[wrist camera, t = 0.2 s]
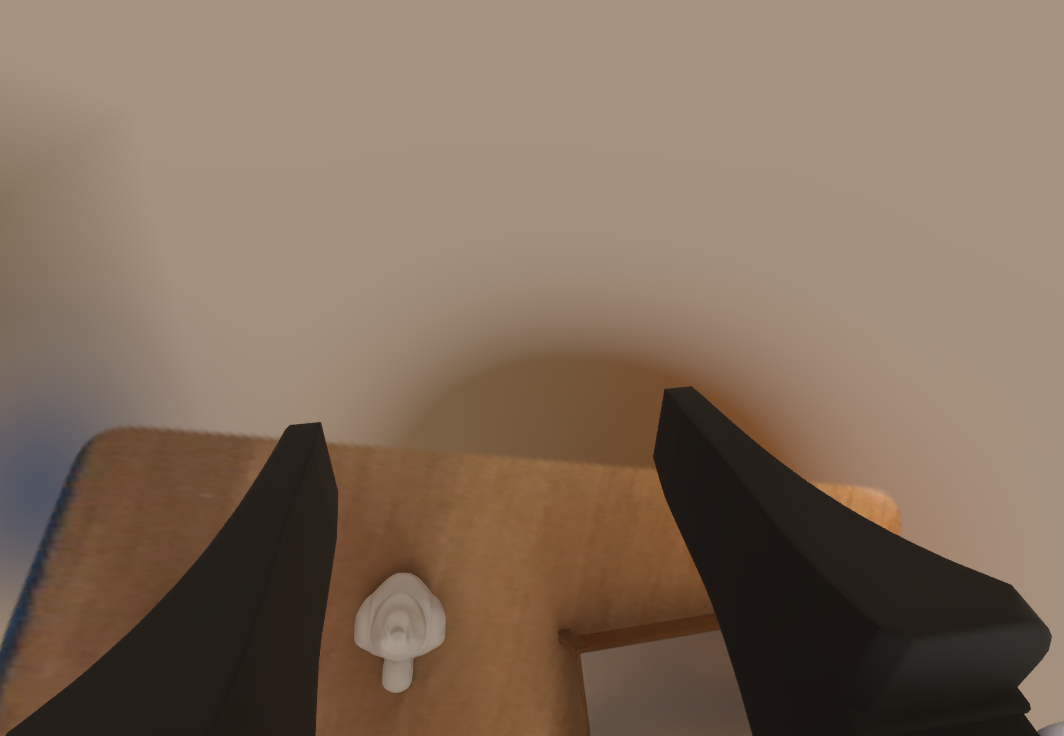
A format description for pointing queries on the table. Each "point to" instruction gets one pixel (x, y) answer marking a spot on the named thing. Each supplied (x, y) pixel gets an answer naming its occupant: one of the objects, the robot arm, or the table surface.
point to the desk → (658, 680)
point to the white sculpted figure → (400, 626)
